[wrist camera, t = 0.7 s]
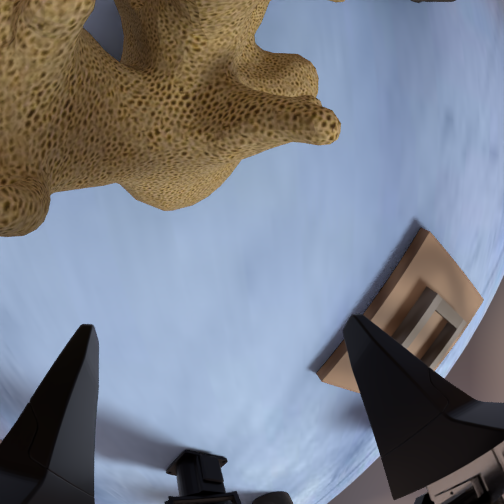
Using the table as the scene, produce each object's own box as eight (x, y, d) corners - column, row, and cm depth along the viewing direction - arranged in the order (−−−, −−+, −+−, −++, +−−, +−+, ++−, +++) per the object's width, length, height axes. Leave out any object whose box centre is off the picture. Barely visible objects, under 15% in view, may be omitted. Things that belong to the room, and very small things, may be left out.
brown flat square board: (400, 399, 41) (412, 413, 38) (316, 373, 33) (329, 393, 30) (477, 295, 38) (492, 305, 35) (420, 227, 31) (442, 237, 27)
